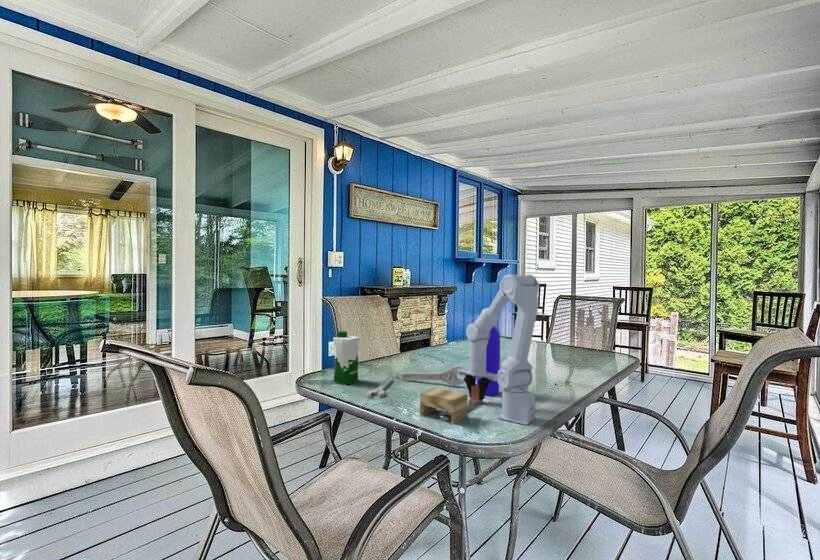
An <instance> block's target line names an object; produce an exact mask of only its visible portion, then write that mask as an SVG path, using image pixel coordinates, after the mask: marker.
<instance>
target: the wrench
mask: <svg viewBox="0 0 820 560" xmlns="http://www.w3.org/2000/svg"><path fill="white" fill-rule="evenodd" d="M460 368H462V369H466V368H465V367H464V366H461V365H455V366H453V367H451V368H449V369H448V370H445V371H441V372H399V373H398V372H397V374H396V375H395V379H396V380H397V381H400V380H402V381H401V382H403V381H405V382H406V381H442V382H445V383H446V384H448V386H449V387H452V388H453V387H454V386H460V385H462V384H464V383H465V381H464V379H462V378H458V374H457V373H458V369H460ZM399 375H400V376H401V378H400V377H399Z"/></svg>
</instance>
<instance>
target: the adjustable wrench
mask: <svg viewBox="0 0 820 560" xmlns="http://www.w3.org/2000/svg"><path fill="white" fill-rule="evenodd" d="M391 383H393V378H391V377H387V378H385V379H384V380H383V381H382V382H381V383H380V384H379V385H378V387H376V388H374V389H372V390H368V391H366V394H365V397H366V398H367V397H368V399H372V397H373V395H376V396H378V398H379V399H381V397H382V398H384V397H385V396H386V395H387V391H386V389H387V388H388V386H390V384H391Z"/></svg>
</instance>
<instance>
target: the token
mask: <svg viewBox="0 0 820 560" xmlns="http://www.w3.org/2000/svg"><path fill="white" fill-rule="evenodd" d="M438 420H439V421H441V422H444V423H447V422H448V423H451V412H450V411H442V412H440V413H439V414H438Z"/></svg>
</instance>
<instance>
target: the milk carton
mask: <svg viewBox="0 0 820 560" xmlns="http://www.w3.org/2000/svg"><path fill="white" fill-rule="evenodd" d="M360 338H361V337H360V336H355V335H348V331H346V330H340V331H339V330H338V331H337V332H336V336H335V337H333V338H332V340H333V345H334V373H333V383H334V382H337V383H336V384H340V383H344V384H343V385H347V384H349V385H351V384H350V383H352V384H353V382H354V383H356V382H358V381H359V343H360ZM357 380H358V381H357ZM355 381H356V382H355Z"/></svg>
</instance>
